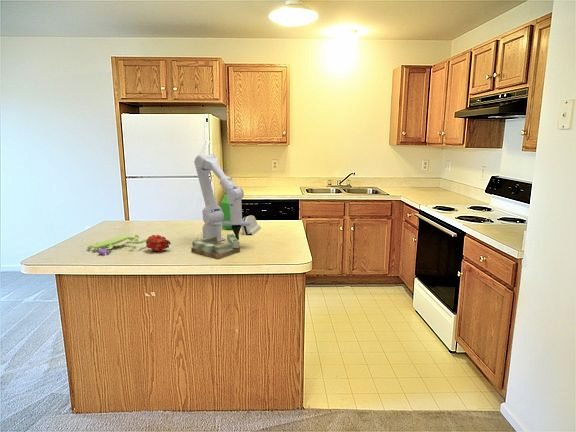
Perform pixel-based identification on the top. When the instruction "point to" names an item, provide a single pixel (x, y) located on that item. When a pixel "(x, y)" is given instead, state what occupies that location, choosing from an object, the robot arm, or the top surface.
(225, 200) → the bottle
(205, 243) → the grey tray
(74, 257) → the top surface
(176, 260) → the top surface
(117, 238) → the figurine
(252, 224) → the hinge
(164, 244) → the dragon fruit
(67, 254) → the top surface
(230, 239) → the hinged leg
